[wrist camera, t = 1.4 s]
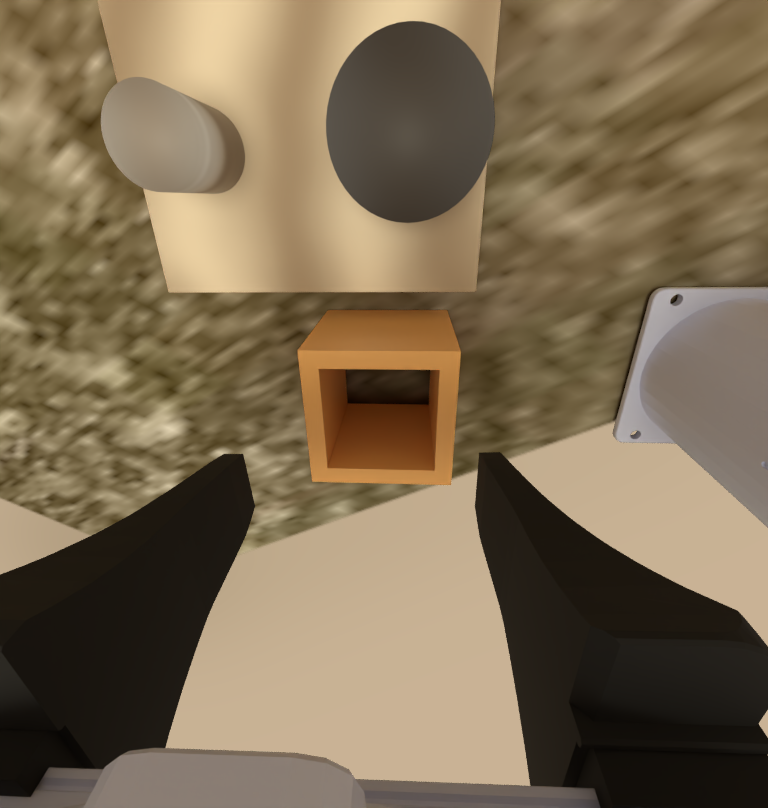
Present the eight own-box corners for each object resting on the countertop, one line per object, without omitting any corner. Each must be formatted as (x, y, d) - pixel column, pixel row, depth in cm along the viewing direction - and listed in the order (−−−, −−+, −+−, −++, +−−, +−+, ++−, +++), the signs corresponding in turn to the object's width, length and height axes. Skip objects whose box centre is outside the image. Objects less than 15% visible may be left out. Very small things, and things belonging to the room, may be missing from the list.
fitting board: (498, -39, 14) (541, -154, 10) (472, 286, 19) (492, 314, 14) (111, -19, 15) (-23, -117, 10) (181, 287, 20) (112, 314, 15)
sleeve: (447, 310, 20) (460, 351, 14) (441, 416, 22) (450, 485, 17) (327, 310, 20) (297, 350, 15) (335, 414, 23) (312, 481, 17)
